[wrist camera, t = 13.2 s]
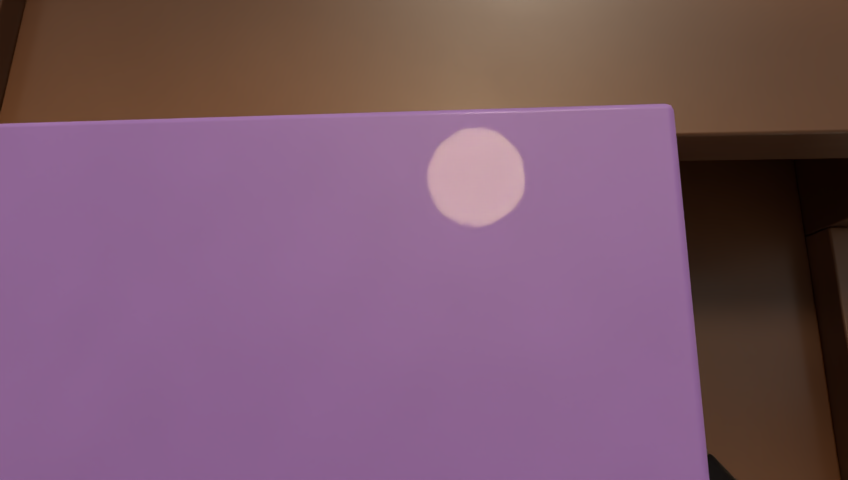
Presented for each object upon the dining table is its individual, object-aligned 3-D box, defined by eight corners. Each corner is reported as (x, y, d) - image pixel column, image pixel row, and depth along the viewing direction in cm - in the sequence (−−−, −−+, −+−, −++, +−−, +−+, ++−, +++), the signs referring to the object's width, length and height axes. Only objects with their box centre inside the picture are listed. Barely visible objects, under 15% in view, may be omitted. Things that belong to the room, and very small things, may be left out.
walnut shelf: (822, 546, 16) (1479, 895, 6) (174, 507, 18) (-244, 699, 8) (764, 126, 19) (1109, -164, 9) (219, 139, 22) (-32, -79, 11)
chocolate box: (520, 467, 14) (789, 1173, 2) (323, 458, 15) (-509, 938, 2) (518, 317, 15) (682, 92, 3) (332, 315, 16) (-230, 124, 3)
